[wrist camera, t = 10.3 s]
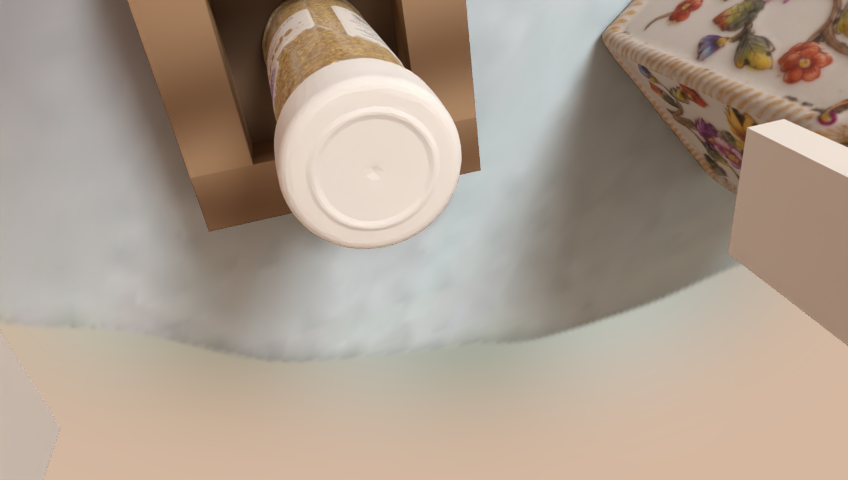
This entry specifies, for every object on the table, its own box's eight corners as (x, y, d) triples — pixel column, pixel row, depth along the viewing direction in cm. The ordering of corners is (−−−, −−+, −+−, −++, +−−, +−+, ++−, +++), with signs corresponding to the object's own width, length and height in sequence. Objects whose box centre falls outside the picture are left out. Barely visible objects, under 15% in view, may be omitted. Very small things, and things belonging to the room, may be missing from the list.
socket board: (112, -91, 23) (96, -88, 20) (431, -139, 24) (453, -141, 22) (212, 200, 29) (209, 231, 26) (461, 146, 31) (480, 170, 28)
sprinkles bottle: (244, 9, 25) (245, 115, 14) (353, -26, 25) (442, 49, 14) (286, 114, 27) (316, 280, 16) (385, 81, 28) (483, 220, 16)
